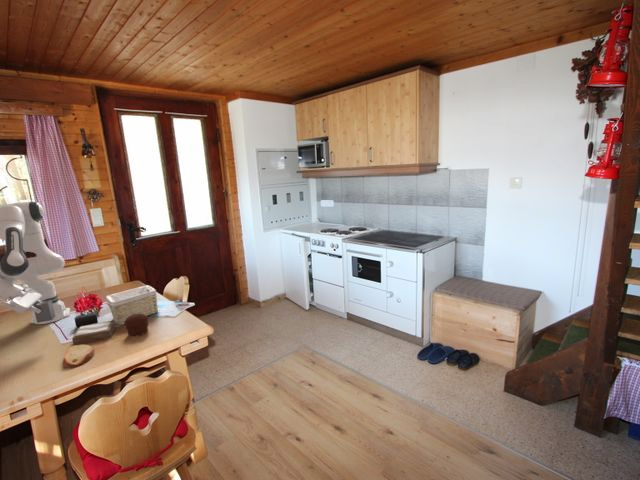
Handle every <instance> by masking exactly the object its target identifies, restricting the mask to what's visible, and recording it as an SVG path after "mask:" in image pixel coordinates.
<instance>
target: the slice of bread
mask: <svg viewBox="0 0 640 480" xmlns="http://www.w3.org/2000/svg"><path fill="white" fill-rule="evenodd" d="M94 355H95V349H94V347H93V346H91V345H89V344H80V345H75V346H74V345H71V346H70V347H69V348H67V350H66V352H65V353H64V356H63V361H62V362H63V363H62V364H63V366H64V367H66V368H70V369H75V368H78V367H80V366H83V365H85V364H86V363H87V362H88V361H90V360H91V359H92V358H93V357H94Z"/></svg>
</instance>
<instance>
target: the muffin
mask: <svg viewBox="0 0 640 480" xmlns="http://www.w3.org/2000/svg"><path fill="white" fill-rule="evenodd" d="M149 320H150V319H149V317H148V316H146V315H144V314H139V313H138V314H133V315H131V316H129V317H128V318H127V319H126V320H125V322H124V324H123V326H125V329H126V331H127V334H128V336H129V337H132V338H133V337H139V336H143V335H145V334H146V333H147V332H148V331H149V324H148V323H149Z"/></svg>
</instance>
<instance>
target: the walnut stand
mask: <svg viewBox="0 0 640 480" xmlns="http://www.w3.org/2000/svg"><path fill="white" fill-rule="evenodd" d="M115 328H116V324H115V320H114V319H113V320H107V321H101V322H98V323H96V324H91V325H86V326H81V327H79V328H77V330H76V331H75V333H74V334H73V336H72V338H71V340H72V344H73V345H72V346H75V345H86V344H88V343H93V342H94V343H95V342H97V341H102V340H106V339H107V340H108V339H111V337H112V336H113V333H114V330H115Z"/></svg>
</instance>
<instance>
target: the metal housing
mask: <svg viewBox="0 0 640 480" xmlns="http://www.w3.org/2000/svg"><path fill="white" fill-rule="evenodd" d="M33 306H34V307H35V308H40V309H42V311H41V312H40V313H36V312H35V316H36V320H37V323H39V322H44V321H50V320H53V319H54V317H55V312H54V308H53V304H52V300H46V301H40V302H36V303H35V304H34V305H33Z"/></svg>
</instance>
